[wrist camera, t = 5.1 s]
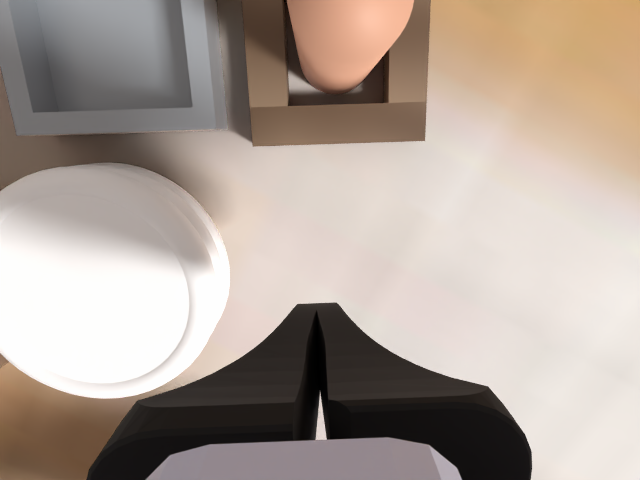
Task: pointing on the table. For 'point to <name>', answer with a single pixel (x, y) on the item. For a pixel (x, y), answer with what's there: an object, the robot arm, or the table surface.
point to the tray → (112, 66)
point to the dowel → (344, 38)
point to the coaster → (107, 278)
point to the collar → (342, 119)
